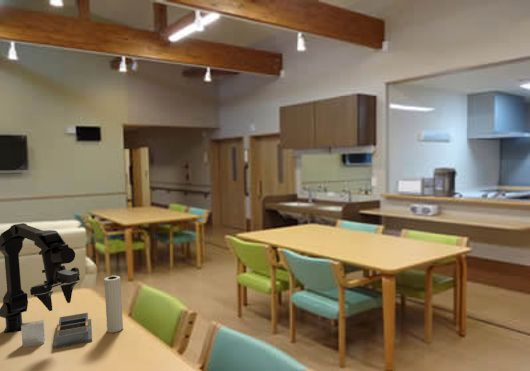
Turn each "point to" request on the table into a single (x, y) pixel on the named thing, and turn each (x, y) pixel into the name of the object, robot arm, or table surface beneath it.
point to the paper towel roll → (113, 303)
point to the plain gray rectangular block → (33, 333)
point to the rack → (73, 330)
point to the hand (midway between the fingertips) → (60, 306)
